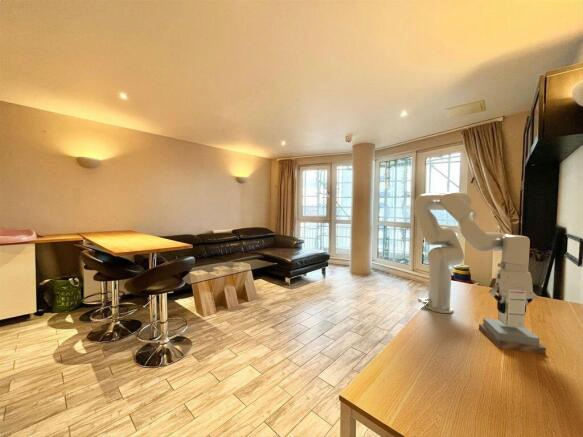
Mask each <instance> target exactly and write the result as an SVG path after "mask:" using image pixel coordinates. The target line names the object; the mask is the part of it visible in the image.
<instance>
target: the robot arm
mask: <svg viewBox="0 0 583 437" xmlns="http://www.w3.org/2000/svg"><path fill="white" fill-rule="evenodd" d="M412 205H413V206H412V207H413V209H412V210H413V213H414V215H415V218H416V220H417V221H418V223H419V226H420V227H419V228H420V231H421V233H422V235H423V238H424V240H425V242H426V243H427V244H428V245H430V246H436V247H434V248H431V249H430V250H429V251H428V253H427V261H428V266H429V267H428V268H429V270H428V271H429V273H428V277H429V278H428V296H425V297H424V298H422V297H418V298H417V301H418V303H422V304H424V307H425V306H426V307H425V308H426V309H428V310H430V311H432V312H436V313H438V314H439V313H440V314H452V313H453V312H454V307H453V306H451V290H452V289H451V287H452V272H451V270H450V268H449V266H457V265H460V264H462V262H463V261H464V259H465V255H464V251H463V248H462V246H461V243H460V241H459V238H458V237H457V234H456V232H455V230H453V229H452V228H450V227H447V226H446V227H445V226H440V224H439V222H438V219H437V217H436V216H435V215H434V213H433V212H432V210H433V211H438V210H439V211H446V212H447V213H448V214H449V215H450V216H451V217H452V218H453V220H455V221H456V222H457V223H458V227H459V230H460V233H461V235H462V237H463V239H465V240H466V241H467V242H468V243H469V244H470V245H471V246H472V247H473V248H475V249H476V250H477V251H480V252H492V251H493V252H497V251H501V260H500V263H497V268H499V269H498V272H497V274H496V276H495V284H494V286H493V287H492V288H490V290H488V293H489V294H490V296H492V297H493V298H494V299H495V300H496V302H497V304H496V308H497V311H500V312H501V313H505V303H504V301H505V299H506V297H508V295H509V290H512V289H513V290H514V289H516V290H520V291H526V300H525V314H526V312H527V306H529V305H530V303H531V302H533V300H535V299H537V298H538V295H537V294H536V293H535V292H534V289H533V287H534V285H533V278H532V274H531V272H530V271H529V262H530V261H529V257H530V245H531V244H530V243H531V242H530V238H529V237H528V236H524V235H519V234H508V233H503V232H485V231H484V230H482V229H481V227H479V225H477V223H476V221H475V219H476V218H477V217H478V211H477V210H476V209H475V208H474V207H472V198H471V196H470V195H469V194H467V193H466V192H460V191H459V192H458V191H450V192H446V193H444V194H443V193H442V194H441V193H422V194H419V195H418V196H417V197H416V198H415V200H414V201H413V204H412ZM496 293H497V294H496ZM427 302H428V303H427ZM426 303H427V304H426ZM425 304H426V305H425Z"/></svg>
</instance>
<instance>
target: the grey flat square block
mask: <svg viewBox="0 0 583 437" xmlns="http://www.w3.org/2000/svg"><path fill="white" fill-rule="evenodd" d="M478 330H479V331H480V332H481V333H482V334H483V335H485V337H487V338H488V339H489V340H490V341H491V342H492V343H493V344H494V345H496V347H498V349H502V350H510V351H517V352H525V353H532V354H540V355H541V354H542V355H546V353H547V351H546V350H547V347H545V346H544V345H542V344H541V343H540V342H539V346H532V345H525V344H519V343H512V342H506V341H499V340H498V339H497V338H496V337H495V336H494V335H493V334H492V333H491V332H490V331H489V330H488V329H487V328H486V327H485V326H484V325H483V323H478Z"/></svg>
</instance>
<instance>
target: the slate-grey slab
mask: <svg viewBox="0 0 583 437" xmlns="http://www.w3.org/2000/svg"><path fill="white" fill-rule="evenodd" d="M482 321H483V322H482V324H483V325H484V326H485V327H486V328H487V329H488V330H489V331H490V332H491V333H492V334H493V335H494V336H495V337H496V338H497V339H498V340H499V341H506V342H512V343H519V344H525V345H532V346H539V343H540V341H541V340H540V337H539V336H537V335H536V334H534V333H533V332H532V331H530V330H529V329H528V328H527V327H525V326H524V328H520V327H510V326H507V325H505V324H504V323H503V322H501V321H500V320H498V319H493V318H485V317H484V318H483V320H482Z"/></svg>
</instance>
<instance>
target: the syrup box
mask: <svg viewBox="0 0 583 437" xmlns="http://www.w3.org/2000/svg"><path fill="white" fill-rule="evenodd" d="M525 300H526V291H520V290H516V289H514V290H513V289H512V290H509V295H508V297H506V299H505V301H504V303H505V313H501V312H500V311H498V310H497V311H498V314H497V315H498V317H497V320H500V321H501V322H503V323H504V324H505V325H507V326H510V327H520V328H524V327H525V319H526V318H525V317H526V313H525Z"/></svg>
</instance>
